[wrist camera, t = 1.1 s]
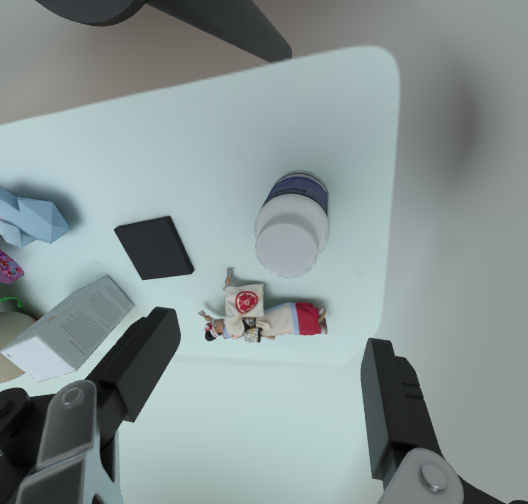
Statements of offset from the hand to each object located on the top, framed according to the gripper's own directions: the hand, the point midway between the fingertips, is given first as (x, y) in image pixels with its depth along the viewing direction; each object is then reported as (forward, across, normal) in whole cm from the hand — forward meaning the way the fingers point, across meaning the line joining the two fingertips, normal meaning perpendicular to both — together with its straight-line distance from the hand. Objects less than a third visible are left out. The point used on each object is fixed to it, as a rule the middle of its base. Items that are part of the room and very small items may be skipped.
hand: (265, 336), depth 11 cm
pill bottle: (+17, 0, 0) cm, 17 cm away
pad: (+17, +16, +7) cm, 24 cm away
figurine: (+17, +4, +12) cm, 21 cm away
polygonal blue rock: (+16, +31, +3) cm, 35 cm away
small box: (+17, +26, +16) cm, 35 cm away
